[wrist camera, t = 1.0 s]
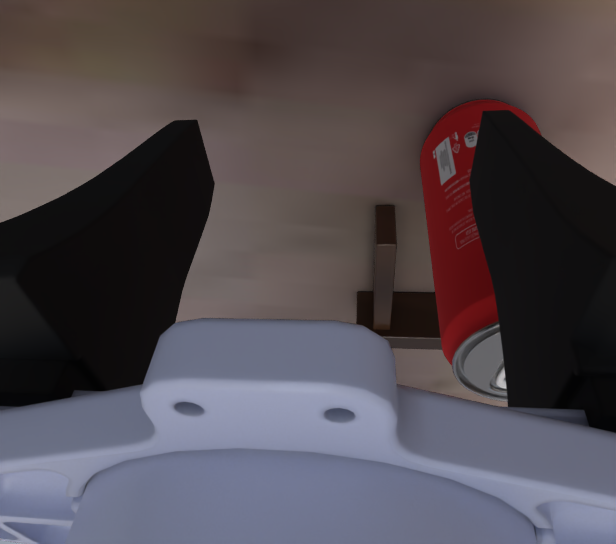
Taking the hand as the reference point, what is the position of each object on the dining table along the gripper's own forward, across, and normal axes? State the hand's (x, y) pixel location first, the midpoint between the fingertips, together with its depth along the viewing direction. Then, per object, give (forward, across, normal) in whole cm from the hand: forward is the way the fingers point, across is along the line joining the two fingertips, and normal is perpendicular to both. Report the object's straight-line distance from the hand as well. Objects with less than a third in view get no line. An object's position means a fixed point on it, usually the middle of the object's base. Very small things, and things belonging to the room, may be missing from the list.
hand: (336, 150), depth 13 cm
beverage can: (+10, -6, +6) cm, 13 cm away
